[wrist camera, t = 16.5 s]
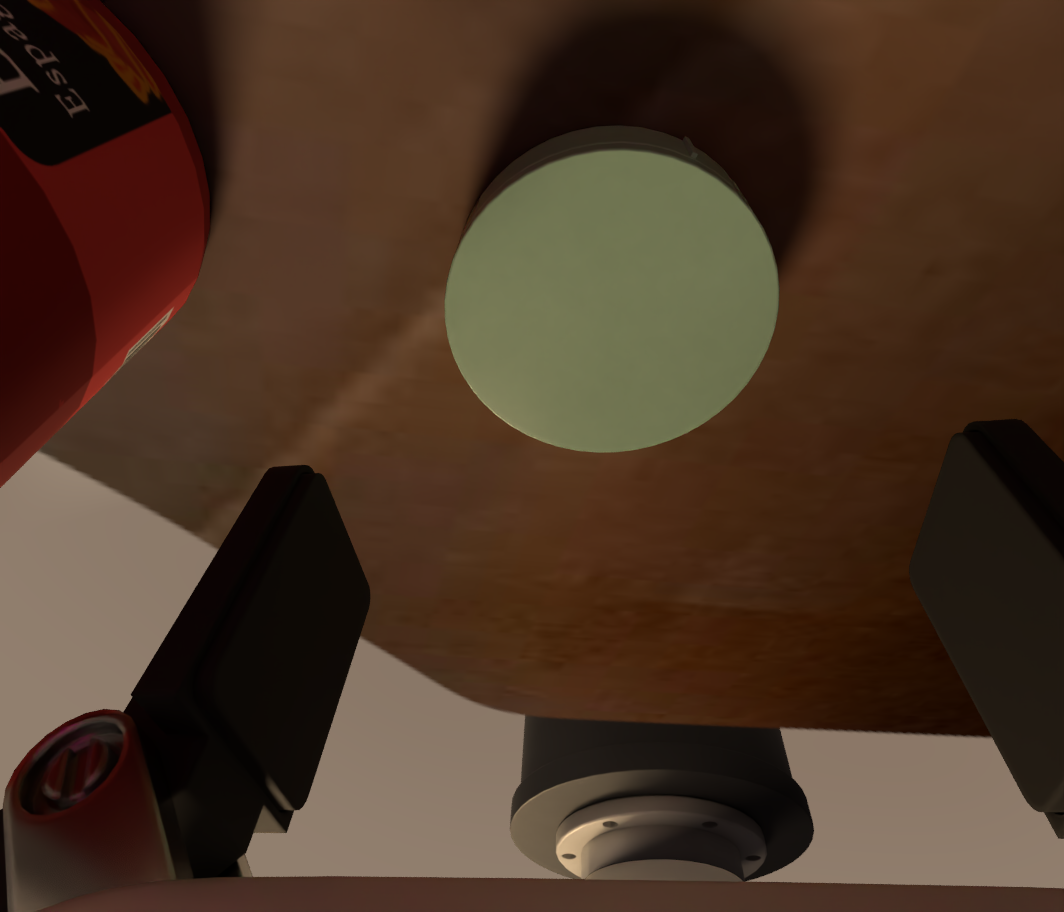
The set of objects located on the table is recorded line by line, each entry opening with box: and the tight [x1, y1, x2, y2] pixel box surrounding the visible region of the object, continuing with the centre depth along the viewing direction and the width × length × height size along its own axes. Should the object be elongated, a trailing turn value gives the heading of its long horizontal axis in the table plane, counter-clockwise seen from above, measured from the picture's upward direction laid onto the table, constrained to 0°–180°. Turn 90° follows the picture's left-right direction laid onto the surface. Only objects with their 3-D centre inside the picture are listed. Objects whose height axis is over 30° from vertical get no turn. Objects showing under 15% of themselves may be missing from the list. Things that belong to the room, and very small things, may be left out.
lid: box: [445, 125, 779, 452], centre depth 14 cm, size 7×7×2 cm
